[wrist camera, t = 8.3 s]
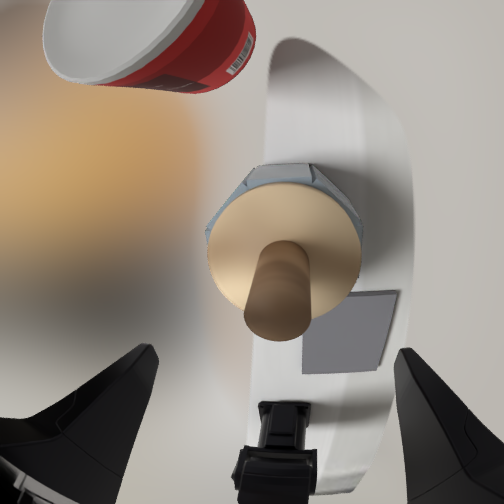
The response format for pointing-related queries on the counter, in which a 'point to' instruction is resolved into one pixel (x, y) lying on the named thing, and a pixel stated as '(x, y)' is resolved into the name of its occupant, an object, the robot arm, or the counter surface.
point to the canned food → (149, 42)
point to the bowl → (297, 175)
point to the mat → (349, 334)
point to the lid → (284, 257)
